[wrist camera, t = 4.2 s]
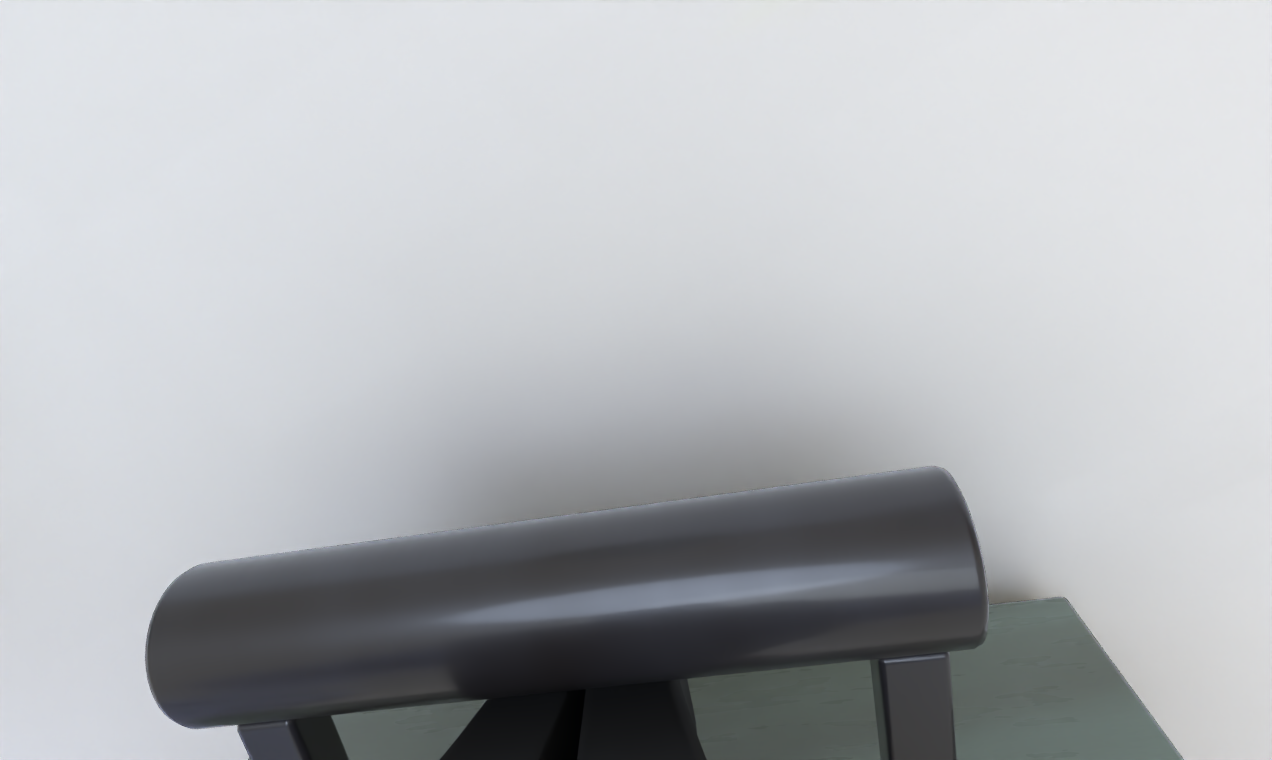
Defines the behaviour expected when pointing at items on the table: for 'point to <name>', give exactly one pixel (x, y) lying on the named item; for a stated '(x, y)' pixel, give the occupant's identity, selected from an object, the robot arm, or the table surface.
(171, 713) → the rack drawer
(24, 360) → the table surface
